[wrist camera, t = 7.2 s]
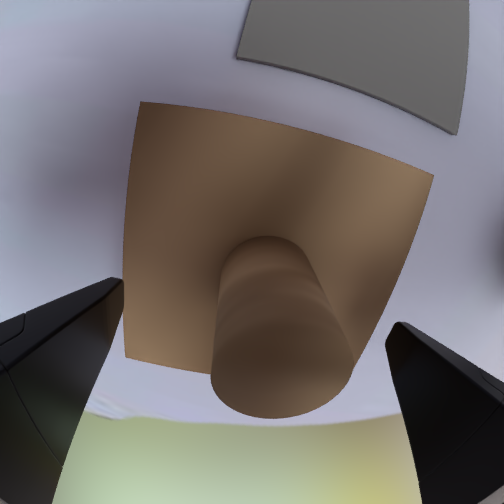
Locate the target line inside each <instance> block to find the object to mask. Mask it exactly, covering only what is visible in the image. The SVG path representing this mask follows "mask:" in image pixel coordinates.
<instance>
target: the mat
mask: <svg viewBox="0 0 504 504" xmlns="http://www.w3.org/2000/svg"><path fill="white" fill-rule="evenodd" d="M468 47H469V0H252V1H251V5H250V8H249V12H248V15H247V19H246V22H245V26H244V30H243V33H242V37H241V41H240V45H239V48H238V52H237V59H240V60H246V61H251V62H256V63H261V64H266V65H270V66H275V67H279V68H283V69H287V70H291V71H295V72H298V73H302V74H306V75H309V76H313V77H316V78H319V79H323V80H326V81H329V82H332V83H335V84H338V85H341V86H344V87H347V88H350V89H352V90H355V91H358V92H361V93H363V94H366V95H368V96H371V97H373V98H376V99H378V100H381V101H383V102H386V103H388V104H390V105H393V106H395V107H397V108H399V109H402V110H404V111H406V112H408V113H410V114H412V115H414V116H417V117H419V118H421V119H423V120H425V121H427V122H429V123H431V124H432V125H434V126H436V127H438V128H440V129H442V130H444V131H446V132H447V133H449V134H451V135H457V133H458V128H459V122H460V117H461V111H462V105H463V98H464V91H465V82H466V73H467V62H468Z"/></svg>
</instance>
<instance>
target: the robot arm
mask: <svg viewBox="0 0 504 504" xmlns="http://www.w3.org/2000/svg"><path fill="white" fill-rule="evenodd" d="M123 309H124V281H123V280H122V279H119V278H114V277H110V278H107V279H105V280H102V281H100V282H97V283H95V284H92V285H90V286H87V287H85V288H82V289H80V290H77V291H75V292H73V293H70V294H68V295H65V296H63V297H60V298H58V299H56V300H53V301H51V302H48V303H46V304H44V305H41V306H39V307H37V308H34V309H32V310H30V311H27V312H26V314H25V313H22V314H20V315H18V316H16V317H13V318H11V319H8V320H6V321H4V322H1V323H0V504H52V501H53V498H54V494H55V491H56V488H57V484H58V481H59V477H60V474H61V472H62V469H63V468H62V466H63V465H64V462H65V459H66V456H67V453H68V450H69V448H70V445H71V442H72V439H73V436H74V434H75V431H76V428H77V426H78V423H79V421H80V418H81V416H82V413H83V411H84V408H85V406H86V403H87V401H88V398H89V396H90V394H91V391H92V389H93V386H94V384H95V382H96V380H97V377H98V375H99V373H100V370H101V368H102V366H103V364H104V362H105V359H106V357H107V355H108V353H109V350H110V348H111V345H112V342H113V339H114V336H115V333H116V330H117V327H118V324H119V321H120V318H121V315H122V312H123ZM385 348H386V352H387V357H388V361H389V366H390V371H391V376H392V380H393V384H394V387H395V391H396V394H397V397H398V401H399V404H400V408H401V411H402V415H403V418H404V422H405V426H406V430H407V434H408V438H409V442H410V446H411V450H412V454H413V458H414V463H415V468H416V472H417V477H418V481H419V488H420V494H421V498H422V504H504V382H502V381H500V380H499V379H497V378H495V377H494V376H492V375H490V374H489V373H487V372H486V371H484V370H482V369H481V368H478V367H477V366H476V365H474V364H473V363H471V362H470V361H468V360H467V359H465V358H463V357H462V356H460V355H459V354H457V353H455V352H454V351H452V350H451V349H449V348H447V347H446V346H444V345H443V344H441V343H439V342H438V341H436V340H435V339H433V338H431V337H430V336H428V335H426V334H425V333H423V332H422V331H420V330H418V329H417V328H415V327H413V326H412V325H410V324H409V323H407V322H396V323H395V324H394V326H393V328H392V330H391V331H390V333H389V335H388V337H387V339H386V342H385Z"/></svg>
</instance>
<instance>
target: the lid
mask: <svg viewBox="0 0 504 504" xmlns="http://www.w3.org/2000/svg"><path fill="white" fill-rule="evenodd" d="M433 177H434V175H432V174H430V173H428V172H425V171H423V170H421V169H418V168H416V167H413V166H411V165H408V164H406V163H403V162H401V161H398V160H396V159H393V158H390V157H388V156H385V155H382V154H380V153H377V152H374V151H371V150H368V149H365V148H363V147H360V146H357V145H354V144H350V143H347V142H344V141H341V140H338V139H335V138H331V137H328V136H324V135H321V134H317V133H314V132H310V131H307V130H303V129H299V128H295V127H291V126H287V125H283V124H279V123H275V122H270V121H266V120H261V119H257V118H252V117H247V116H242V115H237V114H232V113H226V112H220V111H214V110H208V109H201V108H195V107H187V106H179V105H171V104H162V103H152V102H140V107H139V112H138V117H137V123H136V129H135V135H134V141H133V147H132V154H131V162H130V170H129V178H128V188H127V198H126V210H125V223H124V242H123V281H124V309H123V327H124V345H125V357H126V358H131V359H135V360H139V361H143V362H148V363H152V364H157V365H161V366H166V367H171V368H176V369H182V370H187V371H193V372H199V373H205V374H211V384H212V387H213V390H214V391H215V393H216V395H217V396H218V397H219V399H220V400H221V401H222V402H223V403H224V404H226V405H227V406H229V407H230V408H232V409H233V410H235V411H237V412H240V413H242V414H245V415H249V416H253V417H258V418H268V419H277V418H288V417H293V416H298V415H301V414H305V413H308V412H310V411H313V410H315V409H317V408H319V407H321V406H323V405H324V404H326V403H328V402H329V401H330V400H332V399H333V398H334V397H335V396H336V395H338V394H339V393H340V392H341V390H342V389H343V388H344V387H345V385H346V384H347V383H348V381H349V379H350V377H351V374H352V371H353V369H354V367H355V365H356V363H357V361H358V360H359V358H360V356H361V354H362V352H363V351H364V349H365V347H366V345H367V343H368V341H369V339H370V337H371V335H372V333H373V331H374V329H375V327H376V325H377V323H378V321H379V319H380V317H381V315H382V313H383V311H384V309H385V307H386V305H387V302H388V300H389V298H390V296H391V294H392V291H393V289H394V287H395V285H396V282H397V280H398V277H399V275H400V273H401V270H402V268H403V265H404V263H405V260H406V258H407V255H408V253H409V250H410V248H411V245H412V242H413V239H414V237H415V234H416V231H417V228H418V225H419V223H420V220H421V217H422V214H423V211H424V207H425V204H426V201H427V198H428V195H429V191H430V188H431V184H432V181H433Z"/></svg>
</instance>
